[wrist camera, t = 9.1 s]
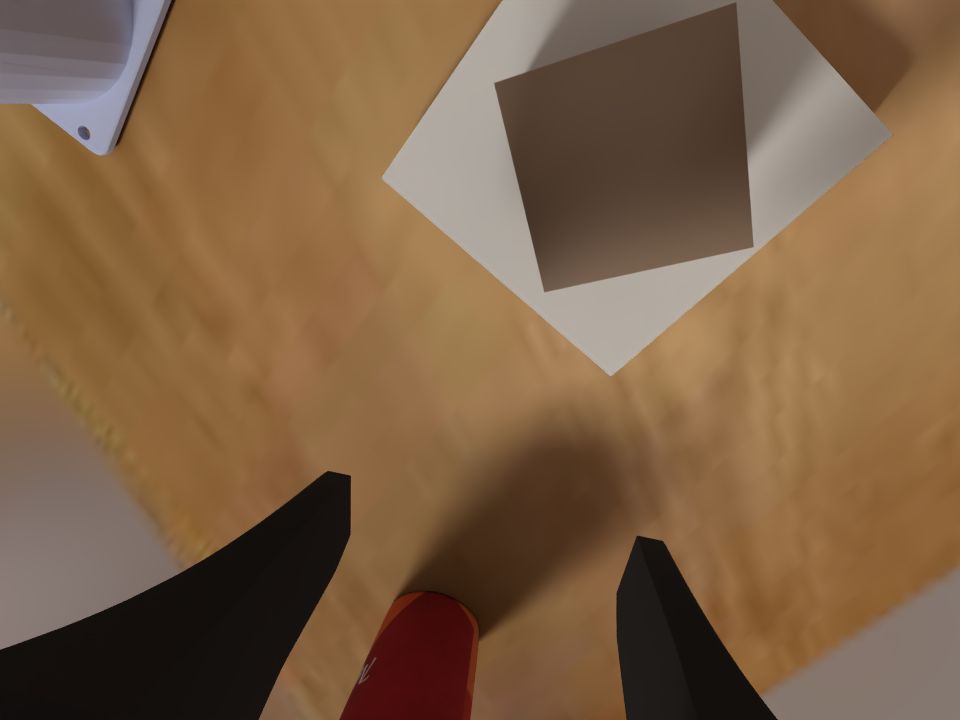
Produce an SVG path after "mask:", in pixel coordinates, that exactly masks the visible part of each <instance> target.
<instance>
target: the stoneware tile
mask: <svg viewBox="0 0 960 720" xmlns="http://www.w3.org/2000/svg"><path fill="white" fill-rule="evenodd" d="M735 2H736V4H737V18H738V32H739V46H740V60H741V75H742V89H743V103H744V117H745V131H746V145H747V160H748V174H749V188H750V202H751V216H752V230H753V245H754V247H752V248H748V249H743V250H739V251H734V252H729V253H725V254H720V255H715V256H711V257H706V258H702V259H697V260H692V261H688V262H683V263H678V264H674V265H669V266H665V267H660V268H655V269H651V270H646V271H641V272H637V273H632V274H628V275H623V276H618V277H614V278H609V279H604V280H600V281H595V282H590V283H586V284H581V285H577V286H572V287H567V288H563V289H558V290H553V291H549V292H544V289H543V285H542V281H541V277H540V272H539V268H538V264H537V260H536V256H535V252H534V247H533V243H532V239H531V235H530V231H529V227H528V223H527V218H526V214H525V210H524V206H523V202H522V198H521V193H520V189H519V185H518V181H517V177H516V173H515V168H514V164H513V160H512V156H511V152H510V148H509V144H508V139H507V135H506V131H505V127H504V123H503V119H502V114H501V110H500V106H499V102H498V98H497V94H496V90H495V85H494V83H496V82H499V81H502V80H505V79H508V78H511V77H514V76H517V75H520V74H523V73H526V72H528V71H531V70H534V69H537V68H540V67H543V66H546V65H549V64H552V63H555V62H558V61H561V60H564V59H567V58H570V57H573V56H576V55H579V54H582V53H585V52H588V51H591V50H594V49H597V48H600V47H603V46H606V45H609V44H612V43H615V42H618V41H621V40H624V39H627V38H630V37H633V36H636V35H639V34H642V33H645V32H648V31H651V30H654V29H657V28H660V27H663V26H666V25H669V24H672V23H675V22H678V21H681V20H684V19H687V18H690V17H693V16H696V15H699V14H702V13H705V12H708V11H711V10H714V9H717V8H720V7H723V6H726V5H729V4H732V3H735ZM892 135H893V134H892V133H891V132H890V131H889V129H888V128H887V127H886V126H885V125H884V124H883V123H882V122H881V121H880V119H879V118H878V117H877V116H876V115H875V114H874V113H873V112H872V110H871V109H870V108H869V107H868V106H867V105H866V104H865V103H864V102H863V100H862V99H861V98H860V97H859V96H858V95H857V94H856V93H855V92H854V90H853V89H852V88H851V87H850V86H849V85H848V84H847V83H846V81H845V80H844V79H843V78H842V77H841V76H840V75H839V74H838V73H837V71H836V70H835V69H834V68H833V67H832V66H831V65H830V64H829V63H828V61H827V60H826V59H825V58H824V57H823V56H822V55H821V54H820V52H819V51H818V50H817V49H816V48H815V47H814V46H813V45H812V44H811V42H810V41H809V40H808V39H807V38H806V37H805V36H804V35H803V34H802V32H801V31H800V30H799V29H798V28H797V27H796V26H795V25H794V23H793V22H792V21H791V20H790V19H789V18H788V17H787V16H786V15H785V13H784V12H783V11H782V10H781V9H780V8H779V7H778V6H777V5H776V3H775V2H774V1H773V0H502V2H501V3H500V4H499V6H498V7H497V9H496V10H495V12H494V13H493V15H492V16H491V18H490V19H489V21H488V22H487V24H486V25H485V27H484V28H483V29H482V31H481V32H480V34H479V35H478V37H477V38H476V40H475V41H474V43H473V44H472V46H471V47H470V49H469V50H468V51H467V53H466V54H465V56H464V57H463V59H462V60H461V62H460V63H459V65H458V66H457V68H456V69H455V71H454V72H453V74H452V75H451V76H450V78H449V79H448V81H447V82H446V84H445V85H444V87H443V88H442V90H441V91H440V93H439V94H438V96H437V97H436V98H435V100H434V101H433V103H432V104H431V106H430V107H429V109H428V110H427V112H426V113H425V115H424V116H423V118H422V119H421V121H420V122H419V123H418V125H417V126H416V128H415V129H414V131H413V132H412V134H411V135H410V137H409V138H408V140H407V141H406V143H405V144H404V145H403V147H402V148H401V150H400V151H399V153H398V154H397V156H396V157H395V159H394V160H393V162H392V163H391V165H390V166H389V168H388V169H387V170H386V172H385V173H384V175H383V176H382V179H383V180H384V181H385V182H386V183H387V184H389V185H390V186H391V187H392V188H393V189H394V190H395V191H397V192H398V193H399V194H400V195H401V196H402V197H404V198H405V199H406V200H407V201H408V202H409V203H411V204H412V205H413V206H414V207H415V208H416V209H417V210H419V211H420V212H421V213H422V214H423V215H424V216H426V217H427V218H428V219H429V220H430V221H431V222H433V223H434V224H435V225H436V226H437V227H438V228H439V229H441V230H442V231H443V232H444V233H445V234H446V235H448V236H449V237H450V238H451V239H452V240H453V241H455V242H456V243H457V244H458V245H459V246H460V247H461V248H463V249H464V250H465V251H466V252H467V253H468V254H470V255H471V256H472V257H473V258H474V259H475V260H477V261H478V262H479V263H480V264H481V265H482V266H483V267H485V268H486V269H487V270H488V271H489V272H490V273H492V274H493V275H494V276H495V277H496V278H497V279H499V280H500V281H501V282H502V283H503V284H504V285H506V286H507V287H508V288H509V289H510V290H511V291H512V292H514V293H515V294H516V295H517V296H518V297H519V298H521V299H522V300H523V301H524V302H525V303H526V304H528V305H529V306H530V307H531V308H532V309H533V310H534V311H536V312H537V313H538V314H539V315H540V316H541V317H543V318H544V319H545V320H546V321H547V322H548V323H550V324H551V325H552V326H553V327H554V328H555V329H556V330H558V331H559V332H560V333H561V334H562V335H563V336H565V337H566V338H567V339H568V340H569V341H570V342H572V343H573V344H574V345H575V346H576V347H577V348H578V349H580V350H581V351H582V352H583V353H584V354H585V355H587V356H588V357H589V358H590V359H591V360H592V361H594V362H595V363H596V364H597V365H598V366H599V367H600V368H602V369H603V370H604V371H605V372H606V373H607V374H609V375H610V376H612V375H613V374H614V373H616V372H617V371H618V370H619V369H620V368H621V367H623V366H624V365H625V364H626V363H627V362H628V361H630V360H631V359H632V358H633V357H634V356H635V355H637V354H638V353H639V352H640V351H641V350H642V349H644V348H645V347H646V346H647V345H648V344H649V343H651V342H652V341H653V340H654V339H655V338H656V337H658V336H659V335H660V334H661V333H662V332H663V331H665V330H666V329H667V328H668V327H669V326H670V325H672V324H673V323H674V322H675V321H676V320H677V319H679V318H680V317H681V316H682V315H683V314H684V313H686V312H687V311H688V310H689V309H690V308H691V307H693V306H694V305H695V304H696V303H697V302H699V301H700V300H701V299H702V298H703V297H704V296H706V295H707V294H708V293H709V292H710V291H711V290H713V289H714V288H715V287H716V286H717V285H718V284H720V283H721V282H722V281H723V280H724V279H725V278H727V277H728V276H729V275H730V274H731V273H732V272H734V271H735V270H736V269H737V268H738V267H739V266H741V265H742V264H743V263H744V262H745V261H746V260H748V259H749V258H750V257H751V256H752V255H753V254H755V253H756V252H757V251H758V250H759V249H760V248H762V247H763V246H764V245H765V244H766V243H767V242H769V241H770V240H771V239H772V238H773V237H774V236H776V235H777V234H778V233H779V232H780V231H781V230H783V229H784V228H785V227H786V226H787V225H788V224H790V223H791V222H792V221H793V220H794V219H795V218H797V217H798V216H799V215H800V214H801V213H802V212H804V211H805V210H806V209H807V208H808V207H809V206H811V205H812V204H813V203H814V202H815V201H816V200H818V199H819V198H820V197H821V196H822V195H823V194H825V193H826V192H827V191H828V190H829V189H830V188H832V187H833V186H834V185H835V184H836V183H837V182H839V181H840V180H841V179H842V178H843V177H844V176H846V175H847V174H848V173H849V172H850V171H851V170H853V169H854V168H855V167H856V166H857V165H858V164H860V163H861V162H862V161H863V160H864V159H865V158H867V157H868V156H869V155H870V154H871V153H872V152H874V151H875V150H876V149H877V148H878V147H879V146H881V145H882V144H883V143H884V142H885V141H886V140H888V139H889V138H890V137H891V136H892Z"/></svg>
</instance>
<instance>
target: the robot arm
mask: <svg viewBox="0 0 960 720" xmlns="http://www.w3.org/2000/svg"><path fill="white" fill-rule="evenodd" d="M170 3H171V0H0V104H32V105H33V106H34V107H36V108H37V109H38V110H39V111H41V112H42V113H43V114H44V115H46V116H47V117H48V118H50V119H51V120H52V121H53V122H55V123H56V124H57V125H59V126H60V127H61V128H62V129H64V130H65V131H66V132H68V133H69V134H70V135H71V136H73V137H74V138H75V139H76V140H78V141H79V142H80V143H82V144H83V145H84V146H85V147H87V148H88V149H89V150H91V151H92V152H93V153H95V154H97V155H108V154H110V153H112V151H113V150H114V147H115V145H116V142H117V140H118V137H119V134H120V132H121V129H122V127H123V124H124V122H125V119H126V116H127V114H128V111H129V109H130V106H131V103H132V101H133V98H134V96H135V93H136V91H137V88H138V85H139V83H140V80H141V78H142V75H143V72H144V70H145V67H146V65H147V62H148V60H149V57H150V54H151V52H152V49H153V47H154V44H155V41H156V39H157V36H158V34H159V31H160V29H161V26H162V23H163V21H164V18H165V16H166V13H167V10H168V8H169V5H170ZM86 128H87V129H88V130H89V132H90V137H89V136H88V134H87V132H86ZM350 527H351V476H350V475H345V474H340V473H336V472H331V471H327V472H326V473H324V474H323V475H321V476H320V477H319V478H317V479H316V480H315V481H314V482H312V483H311V484H310V485H309V486H307V487H306V488H305V489H304V490H302V491H301V492H300V493H299V494H297V495H296V496H295V497H293V498H292V499H291V500H290V501H288V502H287V503H286V504H284V505H283V506H282V507H280V508H279V509H278V510H276V511H275V512H274V513H272V514H271V515H270V516H268V517H267V518H265V519H264V520H263V521H261V522H260V523H259V524H257V525H256V526H254V527H253V528H252V529H250V530H249V531H247V532H246V533H244V534H243V535H241V536H240V537H238V538H237V539H235V540H234V541H232V542H231V543H229V544H228V545H226V546H225V547H223V548H222V549H220V550H219V551H217V552H215V553H214V554H212V555H211V556H209V557H207V558H206V559H204V560H202V561H201V562H199V563H197V564H195V565H194V566H192V567H190V568H188V569H187V570H185V571H183V572H181V573H180V574H178V575H176V576H174V577H172V578H170V579H168V580H166V581H164V582H162V583H160V584H158V585H156V586H154V587H152V588H150V589H148V590H146V591H144V592H142V593H140V594H138V595H136V596H134V597H132V598H130V599H128V600H126V601H124V602H122V603H119V604H117V605H115V606H113V607H110V608H108V609H106V610H104V611H102V612H99V613H97V614H94V615H92V616H89V617H87V618H84V619H82V620H80V621H77V622H75V623H72V624H70V625H67V626H65V627H62V628H60V629H57V630H54V631H51V632H49V633H46V634H43V635H40V636H38V637H35V638H32V639H29V640H27V641H24V642H22V643H18V644H16V645H13V646H10V647H7V648H4V649H1V650H0V720H259V717H260V715H261V713H262V711H263V708H264V706H265V704H266V702H267V699H268V697H269V695H270V693H271V691H272V688H273V686H274V684H275V682H276V679H277V677H278V675H279V673H280V671H281V669H282V667H283V665H284V663H285V661H286V659H287V657H288V655H289V654H290V652H291V650H292V648H293V646H294V645H295V643H296V641H297V639H298V638H299V636H300V634H301V632H302V630H303V629H304V627H305V625H306V623H307V622H308V620H309V618H310V616H311V614H312V613H313V611H314V609H315V607H316V606H317V604H318V602H319V600H320V598H321V597H322V595H323V593H324V591H325V589H326V588H327V586H328V584H329V582H330V580H331V578H332V577H333V575H334V573H335V571H336V569H337V566H338V564H339V561H340V559H341V557H342V554H343V552H344V549H345V547H346V545H347V542H348V540H349V537H350ZM616 619H617V643H618V652H619V661H620V669H621V678H622V686H623V694H624V702H625V710H626V719H627V720H778V719H777V718H776V717H775V716H774V714H773V713H772V712H771V711H770V709H769V708H768V707H767V705H766V704H765V703H764V701H763V700H762V699H761V698H760V696H759V695H758V694H757V692H756V691H755V690H754V688H753V687H752V685H751V684H750V683H749V681H748V680H747V679H746V677H745V676H744V674H743V673H742V671H741V670H740V669H739V667H738V666H737V664H736V663H735V661H734V660H733V658H732V657H731V655H730V654H729V652H728V651H727V649H726V648H725V646H724V645H723V643H722V642H721V640H720V639H719V637H718V635H717V634H716V632H715V631H714V629H713V627H712V626H711V624H710V623H709V621H708V619H707V618H706V616H705V614H704V613H703V611H702V609H701V608H700V606H699V604H698V603H697V601H696V599H695V598H694V596H693V594H692V592H691V591H690V589H689V587H688V585H687V584H686V582H685V580H684V578H683V576H682V575H681V573H680V571H679V569H678V567H677V565H676V564H675V562H674V560H673V558H672V556H671V554H670V552H669V551H668V549H667V547H666V545H665V544H664V542H663V541H660V540H656V539H651V538H646V537H641V536H637V537H636V540H635V543H634V545H633V548H632V551H631V554H630V557H629V560H628V562H627V565H626V568H625V571H624V574H623V576H622V579H621V582H620V585H619V588H618V591H617V608H616Z"/></svg>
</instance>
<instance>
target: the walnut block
mask: <svg viewBox="0 0 960 720" xmlns="http://www.w3.org/2000/svg"><path fill="white" fill-rule="evenodd" d="M494 85H495V90H496V94H497V98H498V102H499V106H500V110H501V114H502V119H503V123H504V127H505V131H506V135H507V139H508V144H509V148H510V152H511V156H512V160H513V164H514V168H515V173H516V177H517V181H518V185H519V189H520V193H521V198H522V202H523V206H524V210H525V214H526V218H527V223H528V227H529V231H530V235H531V239H532V243H533V247H534V252H535V256H536V260H537V264H538V268H539V272H540V277H541V281H542V285H543V289H544V292H549V291H553V290H558V289H563V288H567V287H572V286H577V285H581V284H586V283H590V282H595V281H600V280H604V279H609V278H614V277H618V276H623V275H628V274H632V273H637V272H641V271H646V270H651V269H655V268H660V267H665V266H669V265H674V264H678V263H683V262H688V261H692V260H697V259H702V258H706V257H711V256H715V255H720V254H725V253H729V252H734V251H739V250H743V249H748V248H752V247H754V245H753V230H752V216H751V202H750V188H749V174H748V160H747V145H746V131H745V117H744V103H743V89H742V75H741V60H740V46H739V32H738V18H737V4H736V2H735V3H732V4H729V5H726V6H723V7H720V8H717V9H714V10H711V11H708V12H705V13H702V14H699V15H696V16H693V17H690V18H687V19H684V20H681V21H678V22H675V23H672V24H669V25H666V26H663V27H660V28H657V29H654V30H651V31H648V32H645V33H642V34H639V35H636V36H633V37H630V38H627V39H624V40H621V41H618V42H615V43H612V44H609V45H606V46H603V47H600V48H597V49H594V50H591V51H588V52H585V53H582V54H579V55H576V56H573V57H570V58H567V59H564V60H561V61H558V62H555V63H552V64H549V65H546V66H543V67H540V68H537V69H534V70H531V71H528V72H526V73H523V74H520V75H517V76H514V77H511V78H508V79H505V80H502V81H499V82H496V83H494Z"/></svg>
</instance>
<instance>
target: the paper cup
mask: <svg viewBox="0 0 960 720" xmlns="http://www.w3.org/2000/svg"><path fill="white" fill-rule="evenodd" d="M478 641H479V627H478V623H477V621H476V619H475V617H474V615H473V614H472V613H471V611H470V610H469V609H468V608H467V607H465V606H464V605H463V604H462V603H460V602H459V601H457V600H455V599H453V598H451V597H449V596H446V595H443V594H440V593H436V592H429V591H416V592H411V593H407V594H405V595H402V596H401V597H399V598H398V599H397V600H395V602H394V603H393V604H392V606H391V607H390V609H389V611H388V613H387V615H386V617H385V619H384V621H383V623H382V626H381V628H380V630H379V632H378V634H377V636H376V639H375V641H374V643H373V645H372V647H371V650H370V652H369V654H368V656H367V659H366V661H365V663H364V665H363V667H362V670H361V672H360V674H359V676H358V679H357V681H356V683H355V685H354V688H353V690H352V692H351V695H350V697H349V699H348V701H347V704H346V706H345V708H344V710H343V713H342V715H341V717H340V719H339V720H470V717H471V708H472V699H473V690H474V681H475V672H476V663H477V653H478Z"/></svg>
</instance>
